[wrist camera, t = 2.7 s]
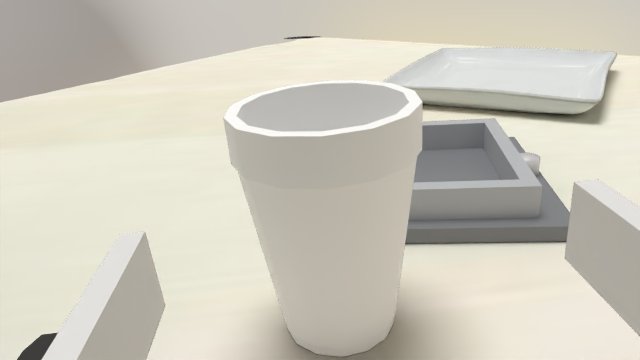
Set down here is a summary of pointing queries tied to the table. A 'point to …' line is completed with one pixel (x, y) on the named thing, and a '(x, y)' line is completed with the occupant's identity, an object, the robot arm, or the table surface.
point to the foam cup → (330, 202)
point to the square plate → (510, 78)
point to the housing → (480, 188)
